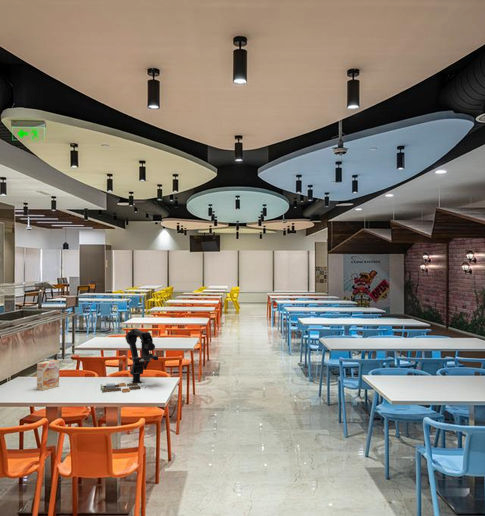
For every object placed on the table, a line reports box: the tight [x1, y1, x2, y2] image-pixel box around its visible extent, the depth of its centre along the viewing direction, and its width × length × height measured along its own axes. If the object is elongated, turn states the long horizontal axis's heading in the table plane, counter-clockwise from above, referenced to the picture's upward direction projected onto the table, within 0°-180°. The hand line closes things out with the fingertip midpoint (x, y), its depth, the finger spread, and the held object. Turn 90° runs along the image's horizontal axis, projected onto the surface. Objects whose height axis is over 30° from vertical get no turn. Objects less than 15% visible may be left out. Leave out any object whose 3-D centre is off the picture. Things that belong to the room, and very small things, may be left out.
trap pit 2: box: [121, 387, 131, 393], centre depth 349 cm, size 5×5×2 cm
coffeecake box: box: [36, 359, 60, 391], centre depth 358 cm, size 15×7×20 cm, turn 153°
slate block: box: [105, 382, 116, 389], centre depth 353 cm, size 6×6×4 cm
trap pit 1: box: [118, 382, 127, 388], centre depth 365 cm, size 5×5×2 cm
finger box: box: [100, 383, 141, 394], centre depth 356 cm, size 13×27×3 cm, turn 112°
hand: (145, 369), depth 366 cm, fingers closed
